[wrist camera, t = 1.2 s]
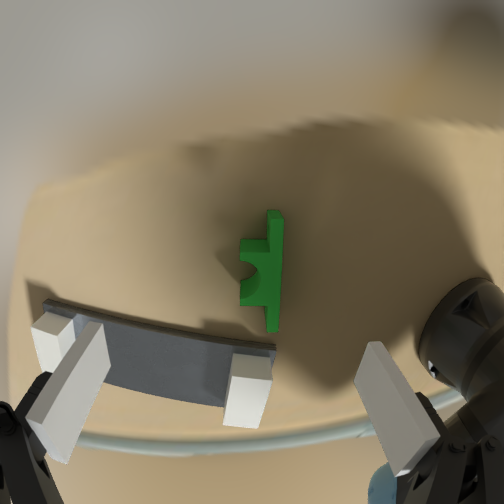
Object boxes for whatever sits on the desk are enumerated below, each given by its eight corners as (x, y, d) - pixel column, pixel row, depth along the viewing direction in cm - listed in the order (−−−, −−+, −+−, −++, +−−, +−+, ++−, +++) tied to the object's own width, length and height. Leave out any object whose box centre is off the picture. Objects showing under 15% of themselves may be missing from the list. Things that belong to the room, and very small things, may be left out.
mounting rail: (275, 344, 32) (280, 373, 27) (258, 404, 35) (260, 433, 30) (47, 298, 30) (25, 318, 25) (59, 361, 33) (43, 382, 28)
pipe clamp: (240, 209, 27) (239, 218, 23) (278, 209, 28) (284, 218, 23) (240, 311, 31) (240, 333, 26) (274, 310, 31) (278, 333, 27)
